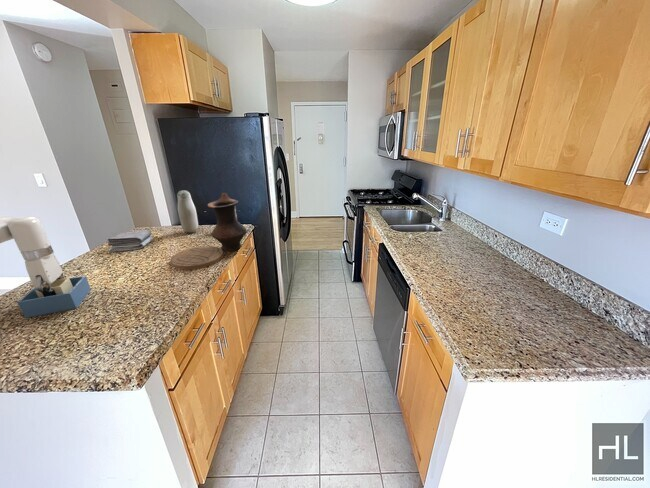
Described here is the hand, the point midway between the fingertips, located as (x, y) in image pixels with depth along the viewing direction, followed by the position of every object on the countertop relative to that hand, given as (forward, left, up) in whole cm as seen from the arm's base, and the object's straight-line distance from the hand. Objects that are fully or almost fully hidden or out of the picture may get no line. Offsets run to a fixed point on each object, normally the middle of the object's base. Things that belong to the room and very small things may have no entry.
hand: (57, 294), depth 98 cm
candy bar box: (+66, +64, -4) cm, 92 cm away
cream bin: (0, 0, -1) cm, 1 cm away
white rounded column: (+42, +70, -4) cm, 82 cm away
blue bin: (0, 0, -3) cm, 3 cm away
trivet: (+47, +23, -4) cm, 53 cm away
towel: (+11, +57, -4) cm, 58 cm away
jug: (+65, +31, -4) cm, 72 cm away
